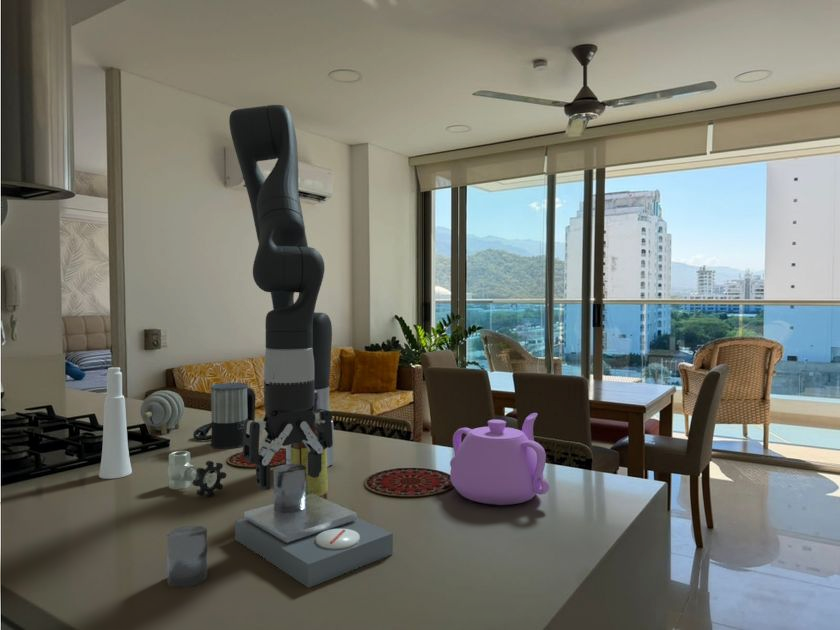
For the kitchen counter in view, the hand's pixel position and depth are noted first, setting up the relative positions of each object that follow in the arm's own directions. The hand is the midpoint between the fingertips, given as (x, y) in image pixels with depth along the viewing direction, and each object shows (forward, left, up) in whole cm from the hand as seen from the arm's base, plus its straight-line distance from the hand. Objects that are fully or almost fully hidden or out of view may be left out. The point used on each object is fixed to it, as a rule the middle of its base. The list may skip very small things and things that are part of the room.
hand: (289, 482), depth 89 cm
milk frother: (-18, -62, -8) cm, 65 cm away
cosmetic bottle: (+10, -51, -8) cm, 53 cm away
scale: (0, +6, -8) cm, 10 cm away
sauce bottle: (-10, -10, -8) cm, 16 cm away
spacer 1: (+17, +3, -8) cm, 19 cm away
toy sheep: (-11, -84, -8) cm, 85 cm away
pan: (0, +3, -5) cm, 6 cm away
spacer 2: (0, 0, -4) cm, 4 cm away
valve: (+3, -31, -8) cm, 32 cm away
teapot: (-40, +10, -8) cm, 42 cm away
